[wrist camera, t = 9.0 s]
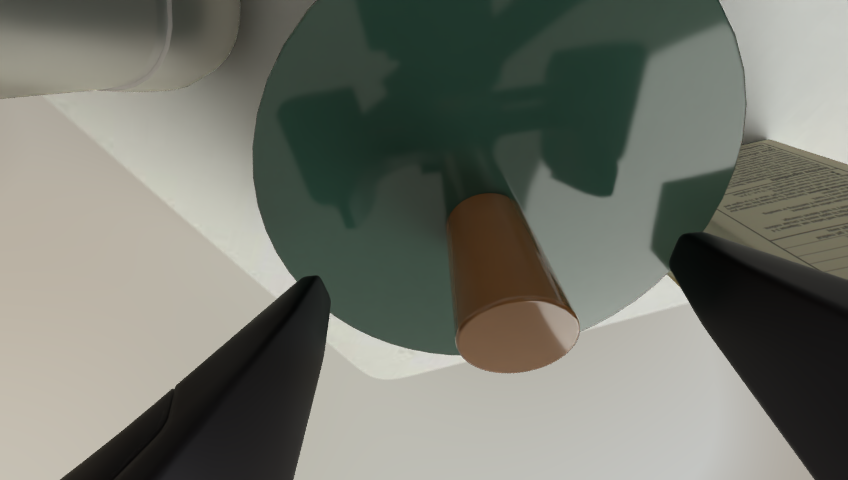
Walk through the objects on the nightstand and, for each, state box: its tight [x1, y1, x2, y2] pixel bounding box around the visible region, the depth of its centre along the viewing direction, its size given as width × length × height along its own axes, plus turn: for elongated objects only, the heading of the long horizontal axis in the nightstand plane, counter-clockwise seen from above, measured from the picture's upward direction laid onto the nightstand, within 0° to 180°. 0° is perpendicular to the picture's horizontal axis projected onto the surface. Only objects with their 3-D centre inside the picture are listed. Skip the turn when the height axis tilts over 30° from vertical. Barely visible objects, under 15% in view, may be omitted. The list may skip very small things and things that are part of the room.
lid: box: [253, 0, 746, 373], centre depth 8 cm, size 13×13×5 cm
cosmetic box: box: [667, 140, 848, 288], centre depth 11 cm, size 6×4×12 cm
